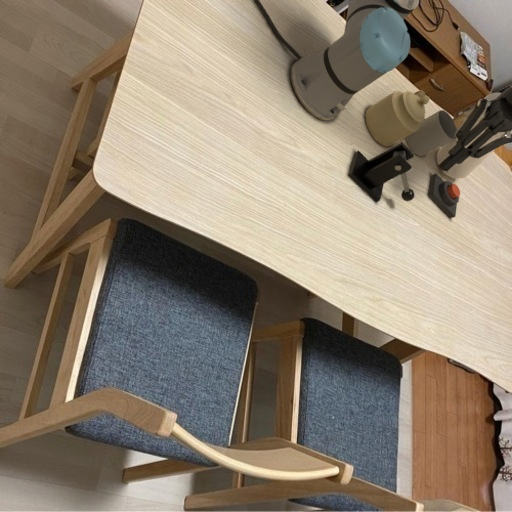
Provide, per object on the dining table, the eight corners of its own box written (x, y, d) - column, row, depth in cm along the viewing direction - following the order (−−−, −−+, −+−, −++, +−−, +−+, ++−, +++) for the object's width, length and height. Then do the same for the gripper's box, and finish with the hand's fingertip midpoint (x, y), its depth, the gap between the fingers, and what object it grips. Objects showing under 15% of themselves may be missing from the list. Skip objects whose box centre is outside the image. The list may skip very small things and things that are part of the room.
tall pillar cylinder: (430, 163, 159) (474, 113, 136) (447, 138, 163) (493, 84, 140) (462, 185, 158) (512, 138, 135) (479, 159, 162) (530, 109, 139)
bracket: (381, 179, 138) (422, 158, 130) (376, 202, 134) (418, 182, 125) (354, 152, 134) (395, 129, 126) (348, 175, 130) (389, 152, 121)
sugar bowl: (366, 88, 147) (415, 56, 137) (394, 112, 153) (442, 82, 142) (363, 131, 140) (414, 101, 129) (392, 154, 145) (443, 127, 135)
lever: (403, 195, 137) (416, 194, 136) (401, 204, 135) (414, 203, 134) (393, 150, 128) (406, 149, 126) (391, 159, 126) (404, 158, 125)
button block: (427, 196, 150) (439, 190, 148) (431, 175, 155) (442, 170, 153) (450, 218, 154) (461, 214, 152) (452, 198, 159) (463, 193, 156)
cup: (425, 161, 155) (457, 145, 148) (406, 145, 151) (438, 128, 144) (425, 138, 160) (456, 121, 152) (406, 122, 155) (438, 104, 148)
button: (446, 193, 151) (451, 190, 149) (447, 183, 153) (453, 181, 152) (454, 201, 152) (459, 199, 151) (455, 192, 154) (460, 189, 153)
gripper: (524, 120, 137) (450, 187, 138) (495, 77, 133) (419, 146, 134) (545, 120, 129) (466, 191, 130) (514, 75, 126) (434, 148, 127)
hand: (442, 168), depth 132 cm, fingers closed
